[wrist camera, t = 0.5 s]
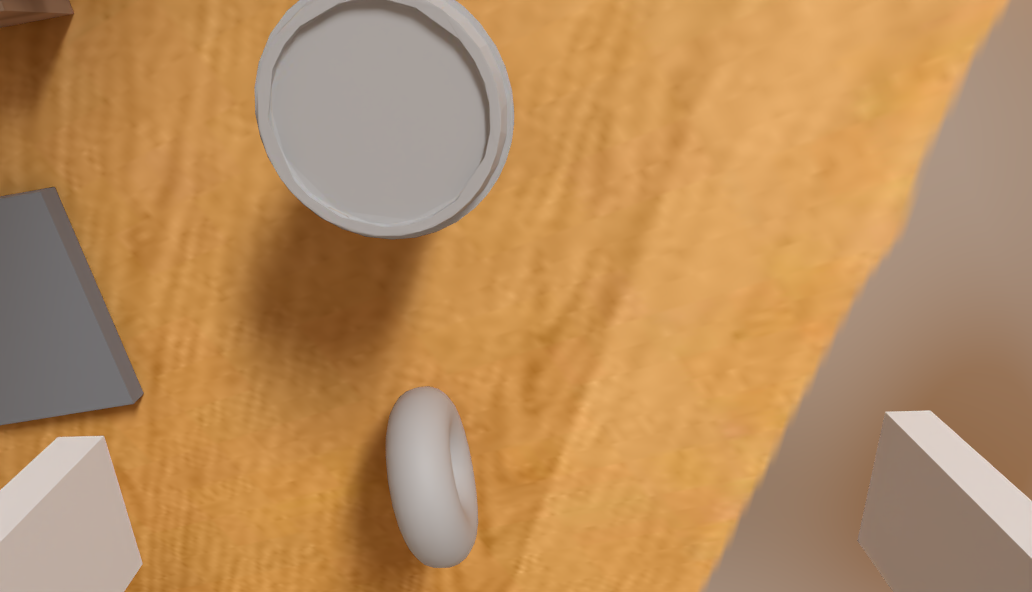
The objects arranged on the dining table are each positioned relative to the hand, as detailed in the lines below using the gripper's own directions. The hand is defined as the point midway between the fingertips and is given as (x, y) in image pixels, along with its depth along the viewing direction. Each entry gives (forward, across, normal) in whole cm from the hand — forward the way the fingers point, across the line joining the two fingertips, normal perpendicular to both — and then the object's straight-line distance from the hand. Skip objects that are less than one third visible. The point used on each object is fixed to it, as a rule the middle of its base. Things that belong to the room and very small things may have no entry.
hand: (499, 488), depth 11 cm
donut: (+27, -4, -16) cm, 31 cm away
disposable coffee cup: (+27, -4, +4) cm, 28 cm away
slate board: (+27, -30, -7) cm, 41 cm away
